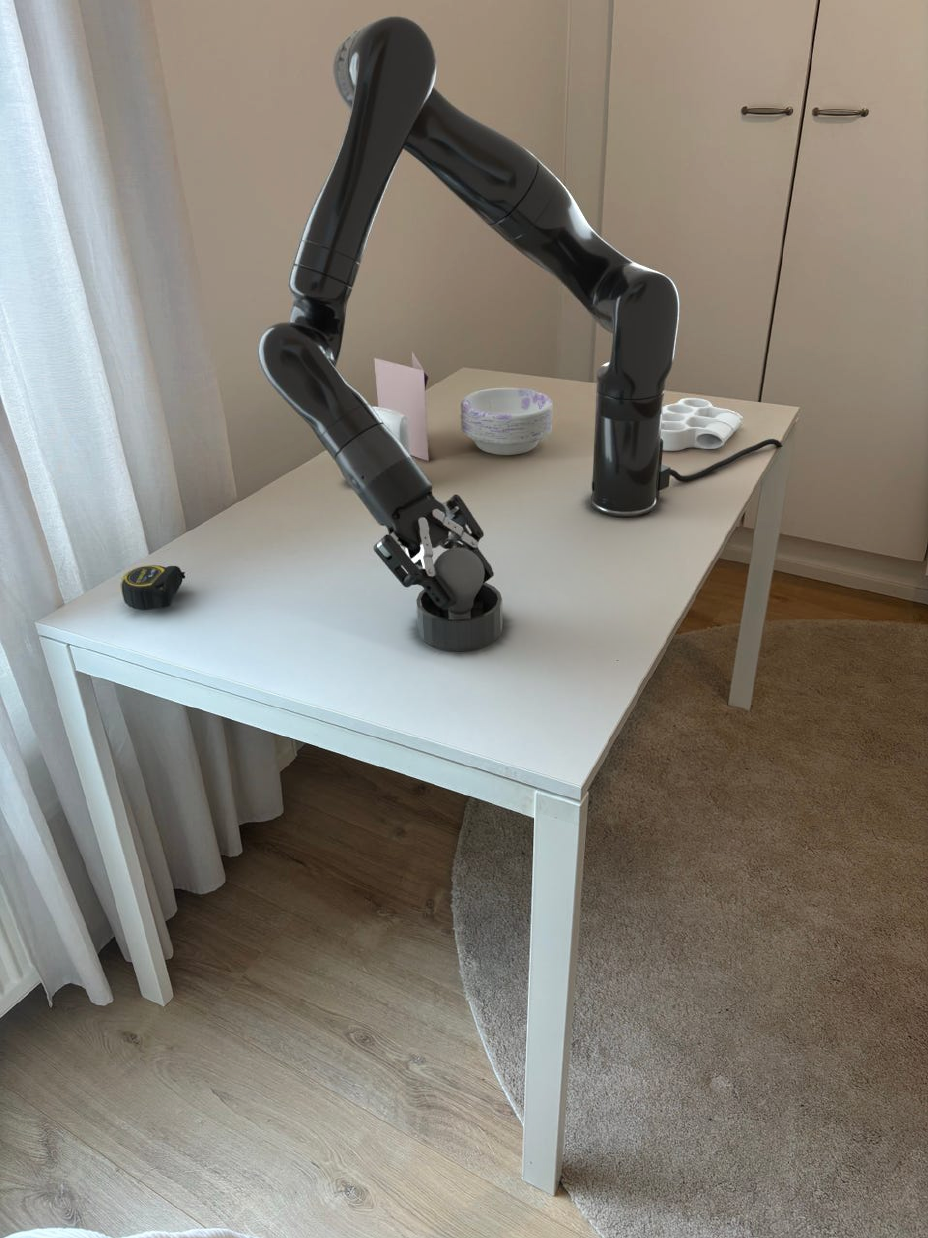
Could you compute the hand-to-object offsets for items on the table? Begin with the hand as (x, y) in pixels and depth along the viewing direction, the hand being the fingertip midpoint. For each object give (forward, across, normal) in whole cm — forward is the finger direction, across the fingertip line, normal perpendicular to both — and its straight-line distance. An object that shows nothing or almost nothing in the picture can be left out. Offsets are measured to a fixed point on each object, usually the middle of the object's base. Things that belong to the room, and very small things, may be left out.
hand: (469, 592), depth 108 cm
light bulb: (+3, 0, +5) cm, 6 cm away
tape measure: (-22, -15, +30) cm, 41 cm away
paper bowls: (-17, +51, +25) cm, 59 cm away
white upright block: (-22, +27, +30) cm, 46 cm away
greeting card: (-26, +41, +34) cm, 59 cm away
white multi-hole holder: (0, +72, +8) cm, 72 cm away
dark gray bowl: (+3, 0, +5) cm, 6 cm away
